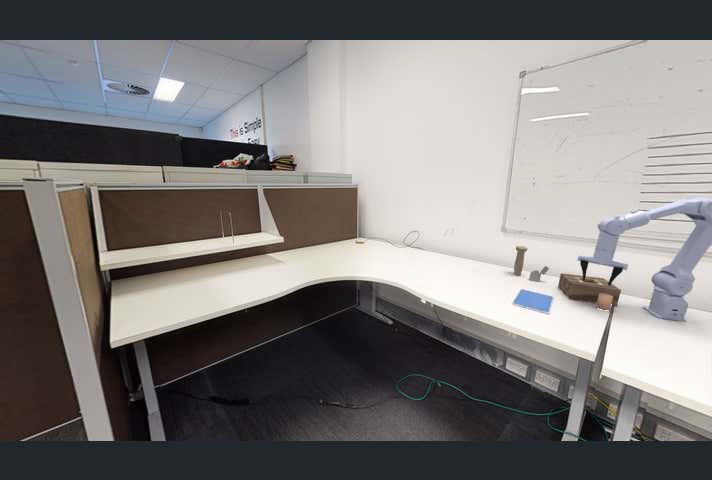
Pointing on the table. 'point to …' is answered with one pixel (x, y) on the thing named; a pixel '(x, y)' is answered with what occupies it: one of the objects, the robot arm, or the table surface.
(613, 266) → the robot arm
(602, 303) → the peg
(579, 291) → the socket block
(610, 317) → the table surface
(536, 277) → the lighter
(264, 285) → the table surface
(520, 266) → the handle
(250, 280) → the table surface
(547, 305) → the tablet computer
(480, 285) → the table surface
